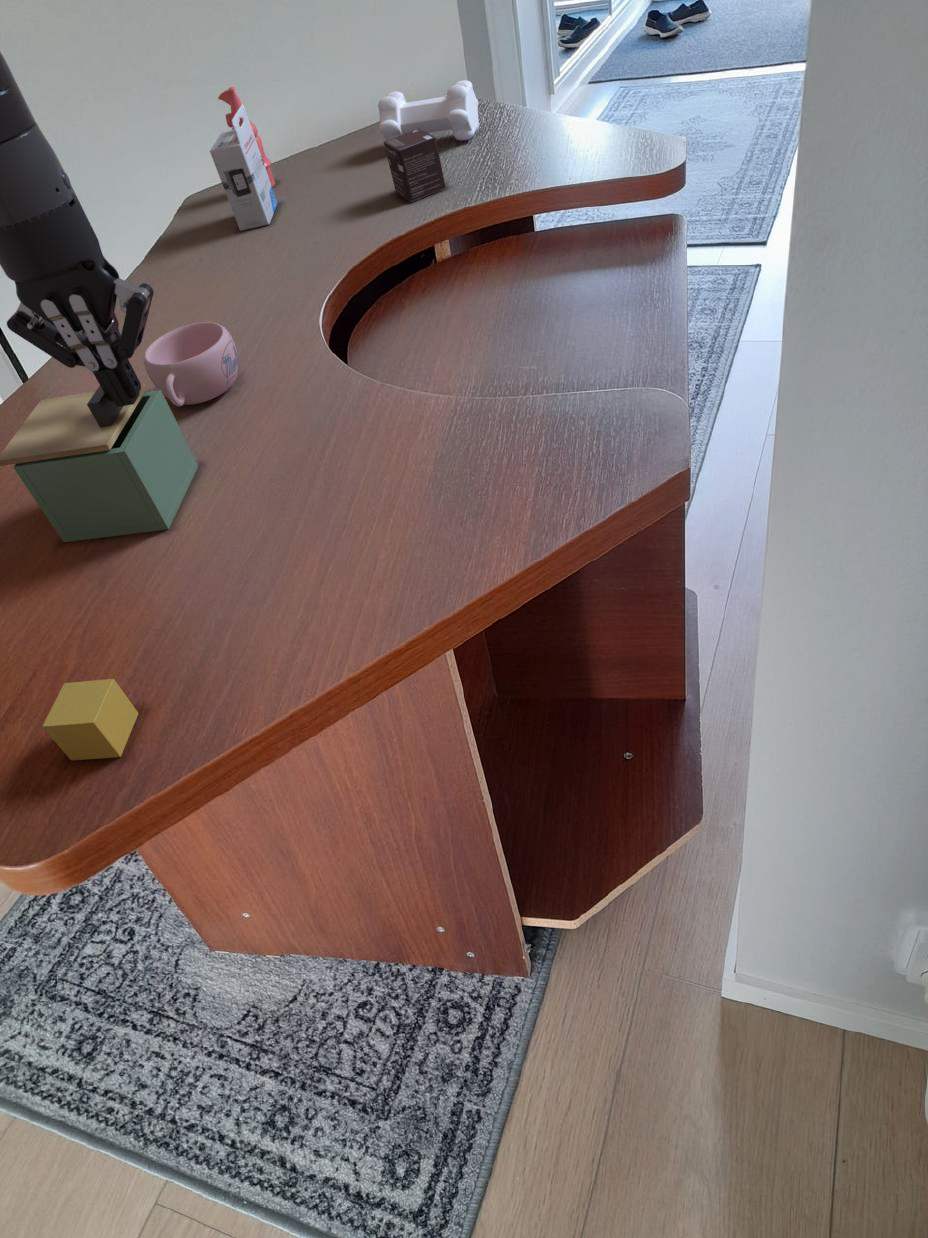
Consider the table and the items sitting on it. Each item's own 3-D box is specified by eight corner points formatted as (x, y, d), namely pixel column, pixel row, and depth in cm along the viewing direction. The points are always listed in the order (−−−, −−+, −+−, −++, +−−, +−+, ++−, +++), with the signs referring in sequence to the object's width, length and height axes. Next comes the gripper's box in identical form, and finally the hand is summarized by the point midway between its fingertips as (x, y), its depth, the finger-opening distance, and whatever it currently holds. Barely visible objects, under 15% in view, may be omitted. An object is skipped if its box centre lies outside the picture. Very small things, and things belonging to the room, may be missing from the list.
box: (395, 193, 135) (382, 141, 129) (431, 179, 136) (419, 127, 130) (410, 203, 130) (397, 149, 125) (447, 189, 131) (436, 135, 126)
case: (168, 529, 83) (124, 451, 77) (63, 542, 86) (12, 467, 80) (198, 465, 90) (160, 389, 84) (100, 479, 93) (56, 405, 87)
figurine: (243, 194, 149) (207, 95, 139) (256, 182, 152) (222, 84, 142) (270, 191, 147) (235, 90, 137) (282, 178, 151) (249, 79, 140)
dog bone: (384, 158, 147) (371, 104, 142) (400, 138, 153) (387, 86, 147) (471, 146, 143) (461, 89, 137) (484, 126, 148) (474, 71, 143)
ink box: (249, 210, 143) (212, 109, 133) (279, 203, 142) (244, 101, 132) (239, 231, 137) (199, 127, 127) (269, 225, 136) (232, 119, 126)
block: (120, 757, 64) (93, 722, 61) (70, 760, 65) (41, 726, 62) (139, 713, 67) (113, 678, 64) (91, 717, 68) (63, 682, 65)
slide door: (110, 450, 77) (93, 420, 75) (-2, 466, 80) (-21, 438, 78) (147, 388, 84) (132, 359, 82) (43, 404, 87) (27, 377, 84)
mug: (182, 371, 106) (160, 325, 102) (259, 362, 104) (239, 314, 100) (143, 429, 98) (118, 382, 94) (226, 420, 96) (203, 371, 92)
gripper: (-77, 238, 66) (46, 435, 78) (82, 205, 64) (185, 414, 76) (-30, 199, 72) (79, 389, 84) (119, 167, 69) (209, 367, 81)
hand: (129, 400), depth 80 cm, fingers closed
